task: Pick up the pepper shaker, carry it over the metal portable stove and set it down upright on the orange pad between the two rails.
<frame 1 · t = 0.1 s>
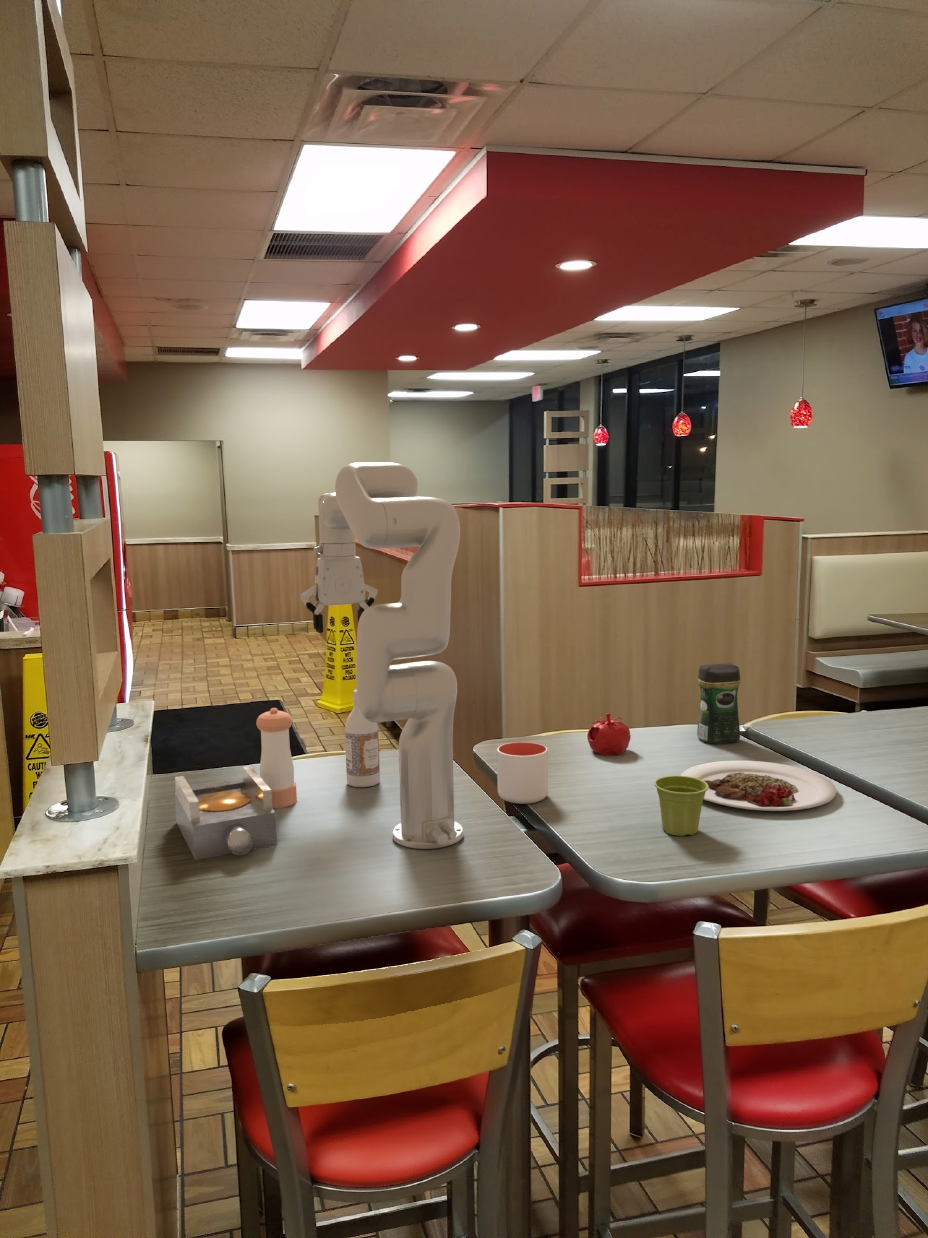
hand: (340, 630, 201), 31 cm above the table, fingers open, 9 cm apart
pepper shaker: (278, 803, 185), on the table
bath foam: (363, 784, 196), on the table
portable stove: (224, 833, 169), on the table
coffee jar: (717, 740, 223), on the table
plated food: (755, 792, 187), on the table
cup: (522, 798, 185), on the table
pomegranate: (608, 752, 215), on the table
plant pot: (680, 831, 166), on the table
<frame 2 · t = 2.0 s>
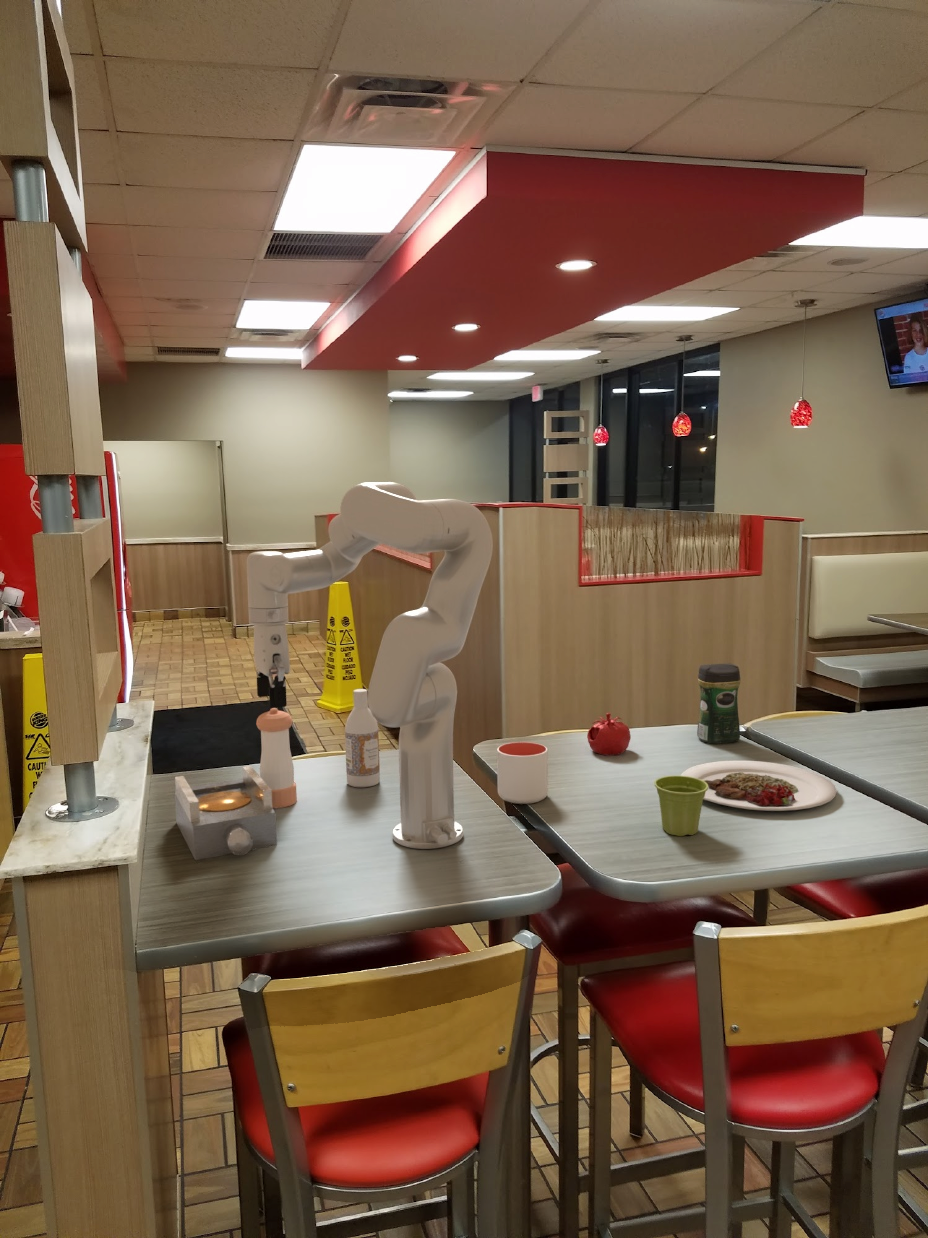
hand: (271, 701, 182), 20 cm above the table, fingers open, 9 cm apart
nothing on the table moved.
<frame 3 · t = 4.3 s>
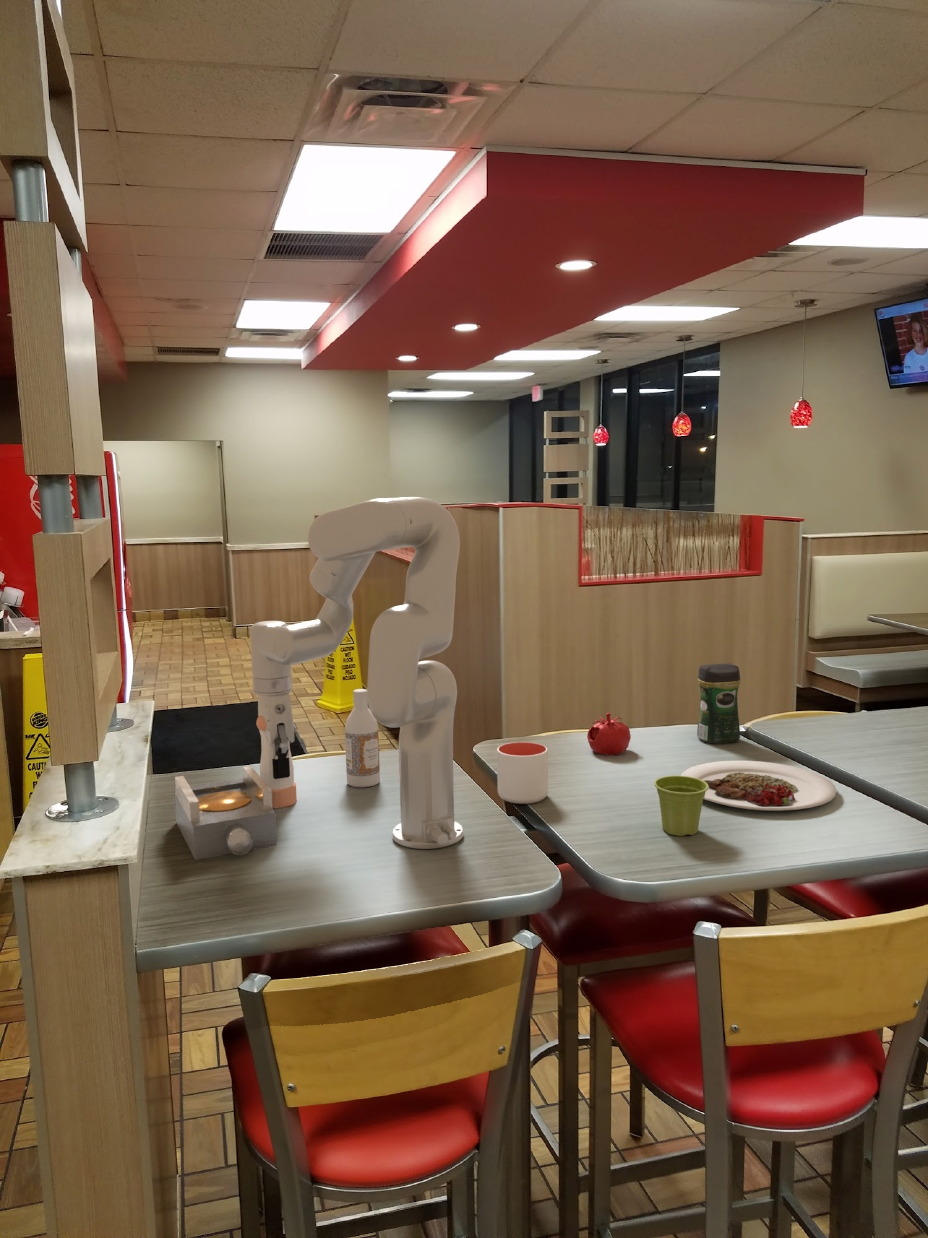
hand: (276, 772, 184), 6 cm above the table, fingers closed on pepper shaker, 6 cm apart
pepper shaker: (278, 803, 185), on the table, touching gripper
everything else where it was.
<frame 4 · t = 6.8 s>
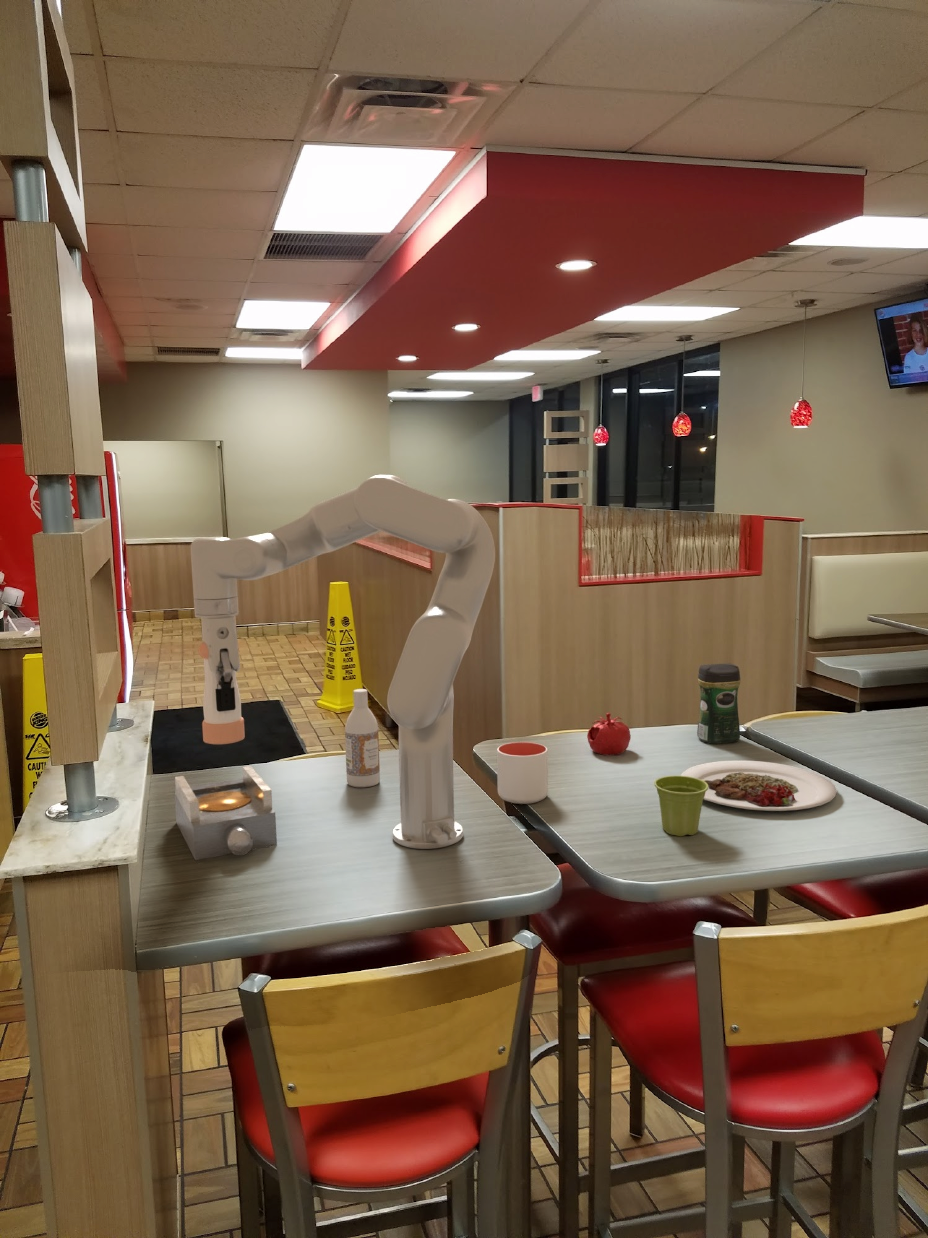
hand: (222, 705, 167), 24 cm above the table, fingers closed on pepper shaker, 6 cm apart
pepper shaker: (224, 740, 167), point 17 cm above the table, touching gripper
everything else where it was.
when the fingers open (14 cm above the table, at t = 9.8 s): pepper shaker stays where it is, resting on portable stove.
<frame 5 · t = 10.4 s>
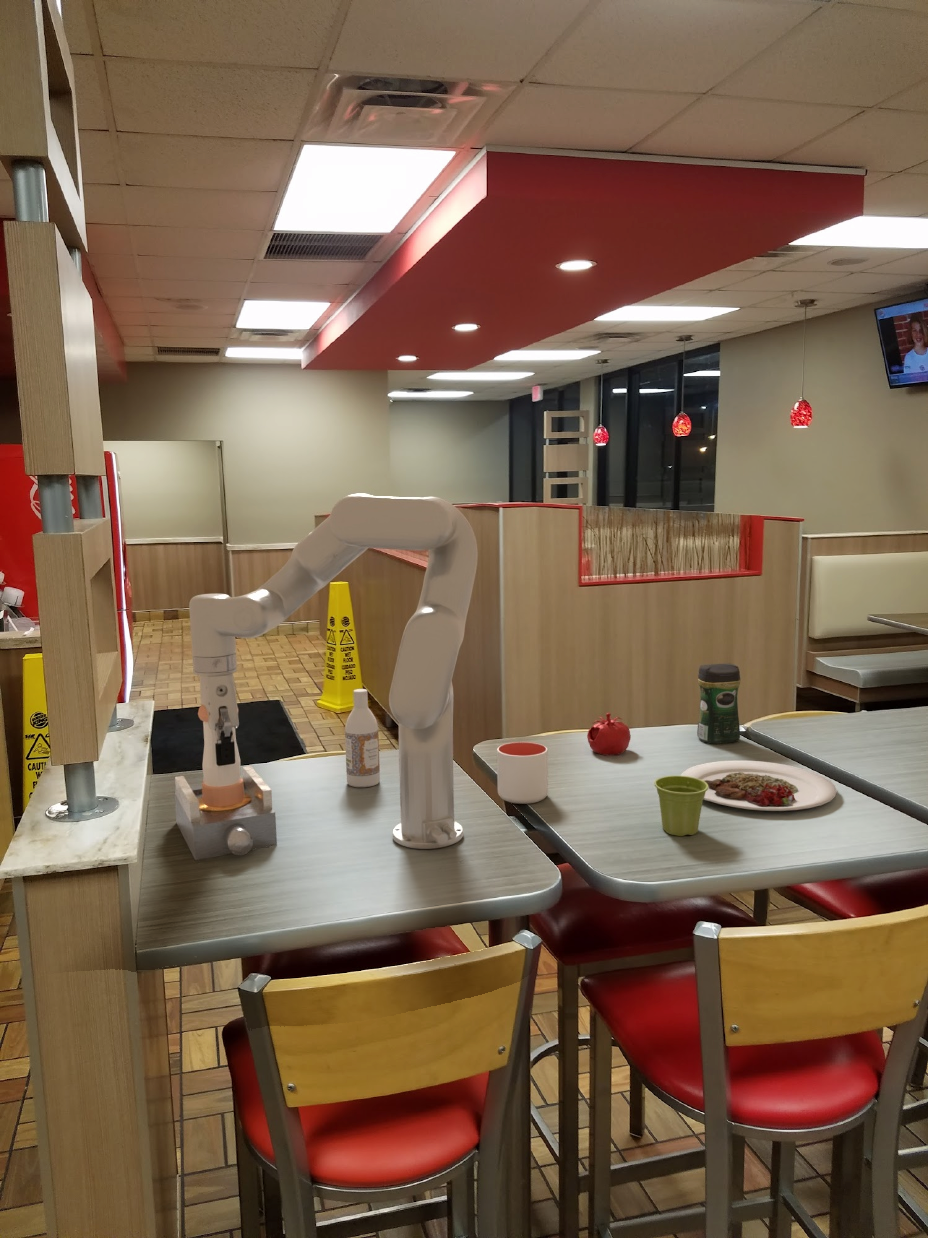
hand: (220, 757, 167), 14 cm above the table, fingers open, 9 cm apart
pepper shaker: (223, 801, 168), point 6 cm above the table, touching portable stove
everything else where it was.
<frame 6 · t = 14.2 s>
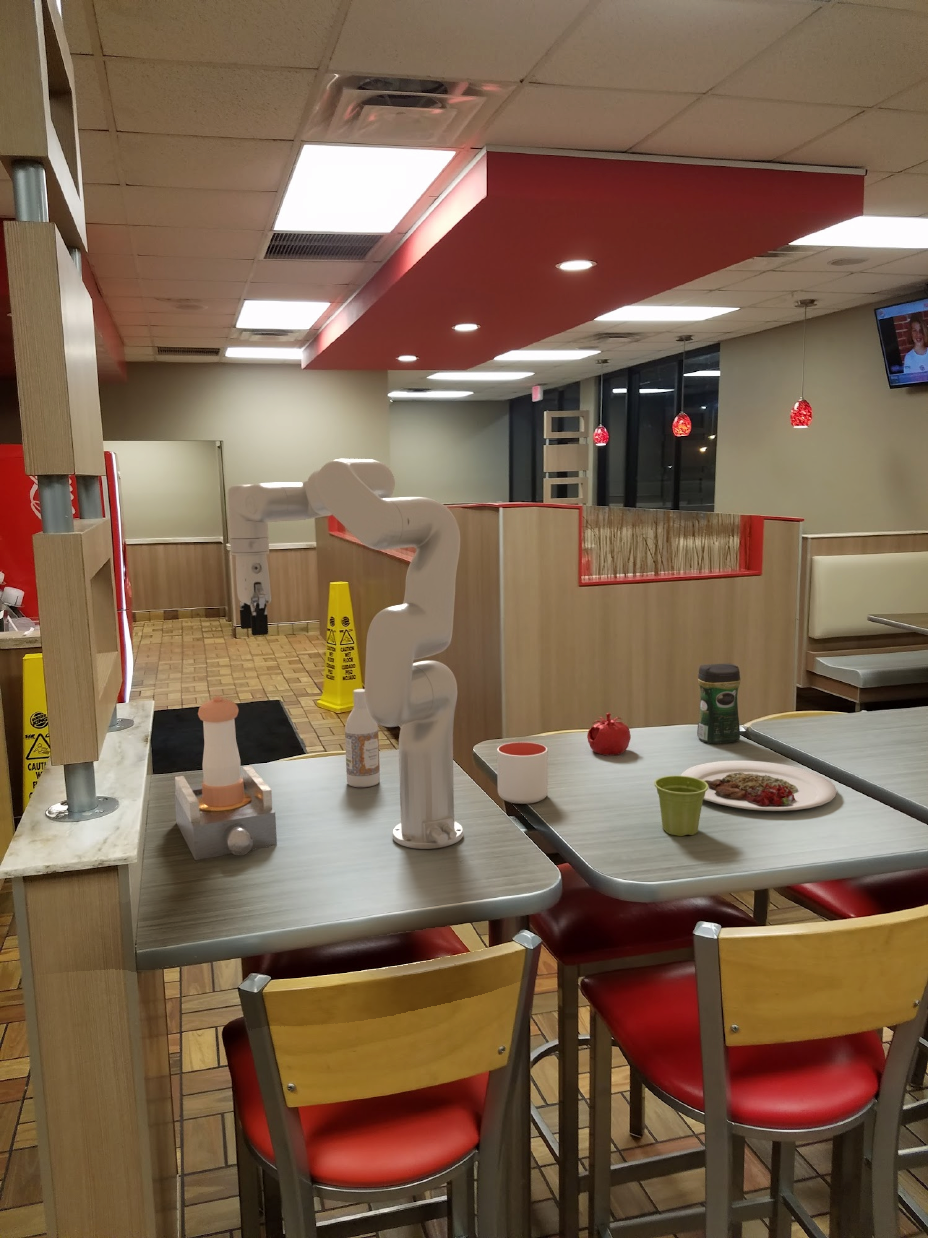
hand: (254, 631, 188), 33 cm above the table, fingers open, 9 cm apart
nothing on the table moved.
at the end: pepper shaker inside the target area on the portable stove (0.1 cm from its centre), point 6.1 cm above the portable stove's base; pepper shaker tilted 0°; the gripper is holding nothing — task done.
